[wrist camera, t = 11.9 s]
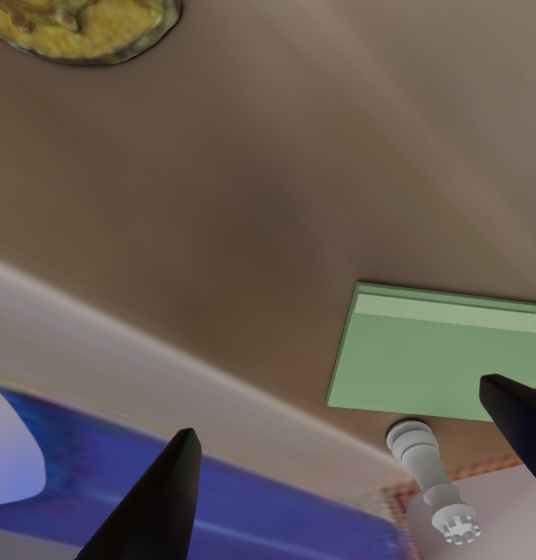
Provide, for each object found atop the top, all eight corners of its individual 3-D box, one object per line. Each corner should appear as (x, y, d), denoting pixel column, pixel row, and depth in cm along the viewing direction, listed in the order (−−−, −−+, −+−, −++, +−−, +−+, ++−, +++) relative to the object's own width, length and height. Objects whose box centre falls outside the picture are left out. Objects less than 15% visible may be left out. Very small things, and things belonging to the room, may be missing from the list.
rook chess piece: (378, 446, 27) (421, 548, 20) (393, 414, 25) (446, 511, 18) (419, 452, 27) (477, 554, 20) (436, 420, 26) (506, 518, 18)
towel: (571, 306, 22) (586, 312, 20) (506, 416, 26) (516, 426, 25) (356, 281, 21) (360, 286, 20) (325, 399, 25) (328, 409, 24)
